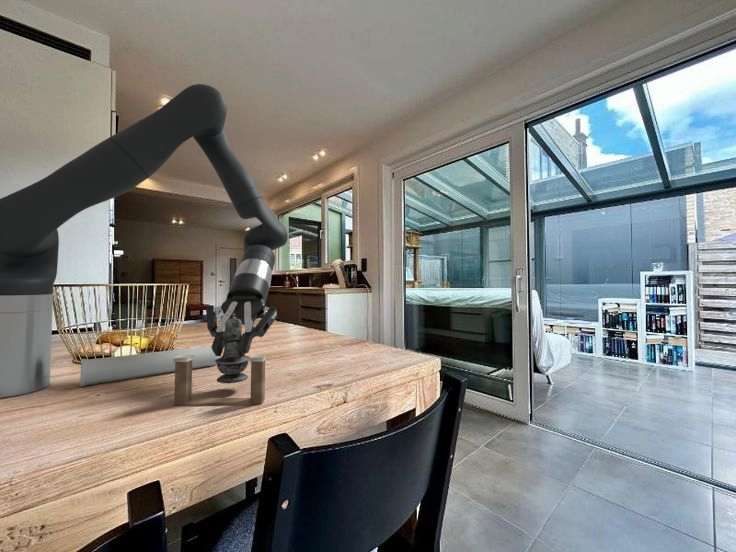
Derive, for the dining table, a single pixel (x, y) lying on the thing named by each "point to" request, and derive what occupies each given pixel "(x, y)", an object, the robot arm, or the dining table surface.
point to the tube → (140, 365)
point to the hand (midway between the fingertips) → (229, 353)
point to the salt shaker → (232, 354)
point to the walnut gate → (185, 390)
